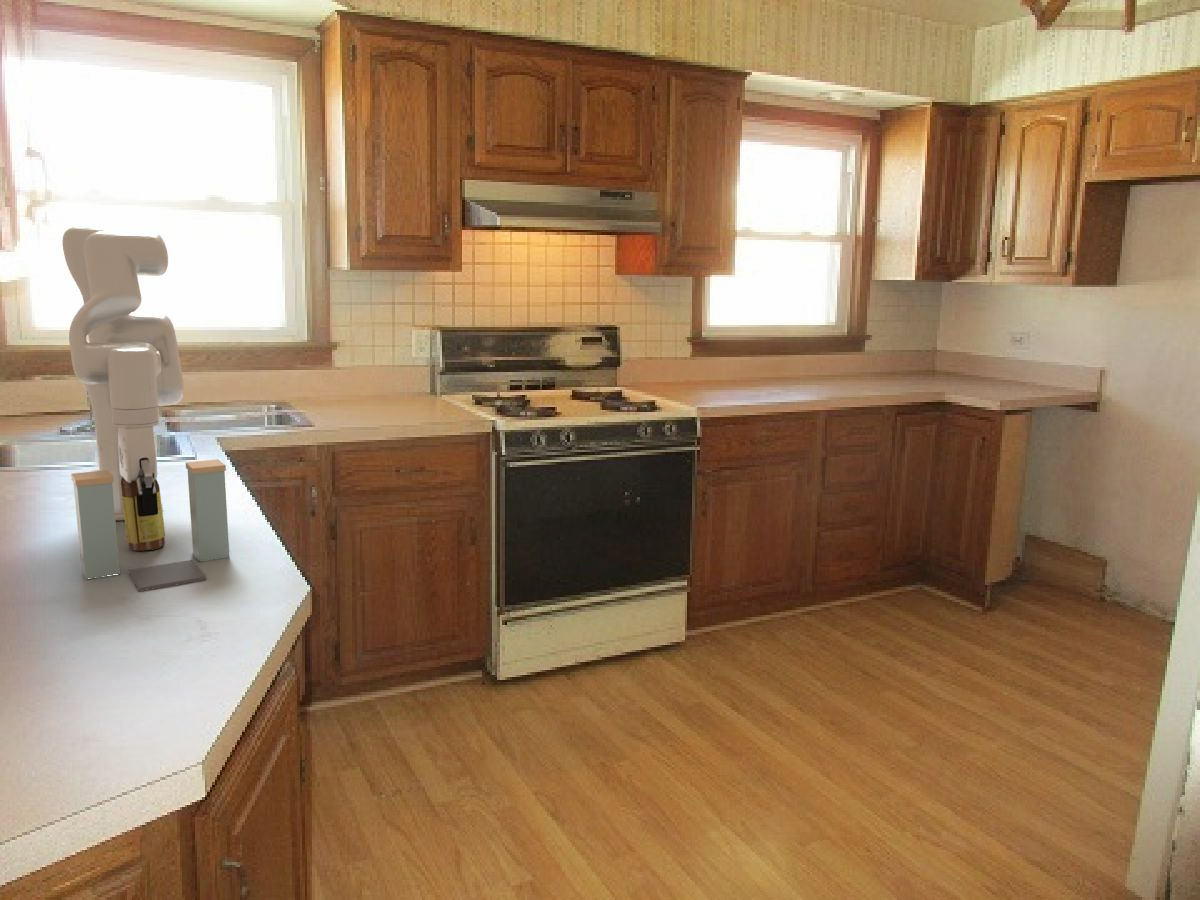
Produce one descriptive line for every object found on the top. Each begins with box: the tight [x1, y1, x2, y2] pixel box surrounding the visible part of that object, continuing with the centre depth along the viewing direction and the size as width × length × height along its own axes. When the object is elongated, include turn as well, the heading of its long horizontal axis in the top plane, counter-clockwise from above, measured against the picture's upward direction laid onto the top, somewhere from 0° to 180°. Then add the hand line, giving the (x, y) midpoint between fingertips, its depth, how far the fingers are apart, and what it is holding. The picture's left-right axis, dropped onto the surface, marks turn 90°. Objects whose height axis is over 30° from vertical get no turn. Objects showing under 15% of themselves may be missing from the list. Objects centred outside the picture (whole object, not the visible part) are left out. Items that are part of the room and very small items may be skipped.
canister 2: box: [185, 458, 230, 562], centre depth 156 cm, size 5×5×17 cm
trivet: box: [127, 559, 207, 592], centre depth 147 cm, size 10×10×1 cm
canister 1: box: [70, 470, 121, 580], centre depth 146 cm, size 5×5×17 cm
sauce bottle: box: [121, 463, 166, 552], centre depth 160 cm, size 6×6×20 cm
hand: (143, 509), depth 160 cm, fingers open, 9 cm apart
